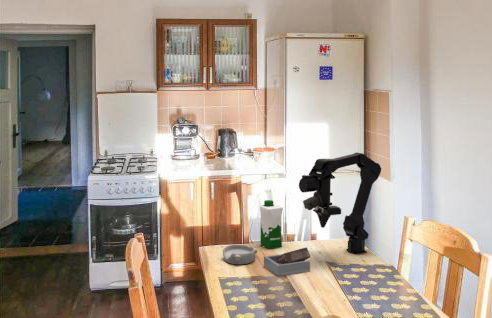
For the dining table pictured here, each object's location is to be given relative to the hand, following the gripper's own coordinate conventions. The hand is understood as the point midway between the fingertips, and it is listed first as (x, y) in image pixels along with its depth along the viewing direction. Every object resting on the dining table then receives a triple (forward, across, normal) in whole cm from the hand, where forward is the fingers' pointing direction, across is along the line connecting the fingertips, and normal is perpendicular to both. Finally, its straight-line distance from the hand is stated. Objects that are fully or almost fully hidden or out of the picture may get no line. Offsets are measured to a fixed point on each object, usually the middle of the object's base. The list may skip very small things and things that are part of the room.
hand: (322, 227), depth 231 cm
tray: (+13, +6, -19) cm, 24 cm away
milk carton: (+13, -24, -12) cm, 30 cm away
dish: (+14, -12, -32) cm, 37 cm away
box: (+9, +5, -11) cm, 15 cm away
